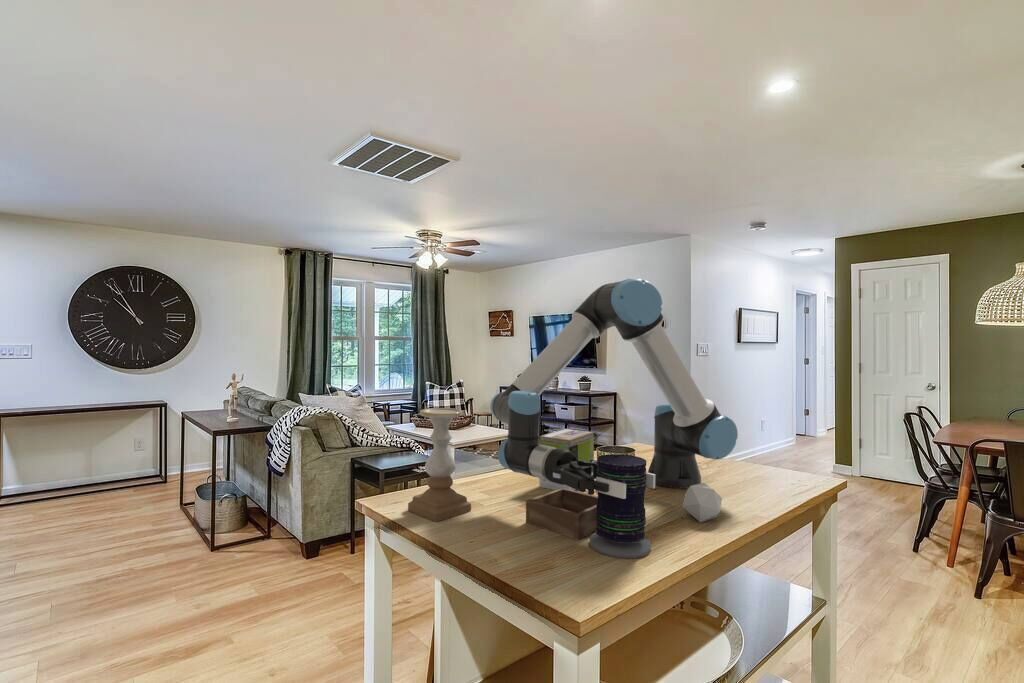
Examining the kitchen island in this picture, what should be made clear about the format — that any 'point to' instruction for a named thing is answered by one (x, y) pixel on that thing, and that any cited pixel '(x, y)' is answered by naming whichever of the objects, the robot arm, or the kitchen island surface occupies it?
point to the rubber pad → (620, 548)
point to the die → (702, 502)
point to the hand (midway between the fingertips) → (640, 486)
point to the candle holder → (440, 472)
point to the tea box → (569, 449)
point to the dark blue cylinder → (617, 514)
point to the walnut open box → (563, 512)
